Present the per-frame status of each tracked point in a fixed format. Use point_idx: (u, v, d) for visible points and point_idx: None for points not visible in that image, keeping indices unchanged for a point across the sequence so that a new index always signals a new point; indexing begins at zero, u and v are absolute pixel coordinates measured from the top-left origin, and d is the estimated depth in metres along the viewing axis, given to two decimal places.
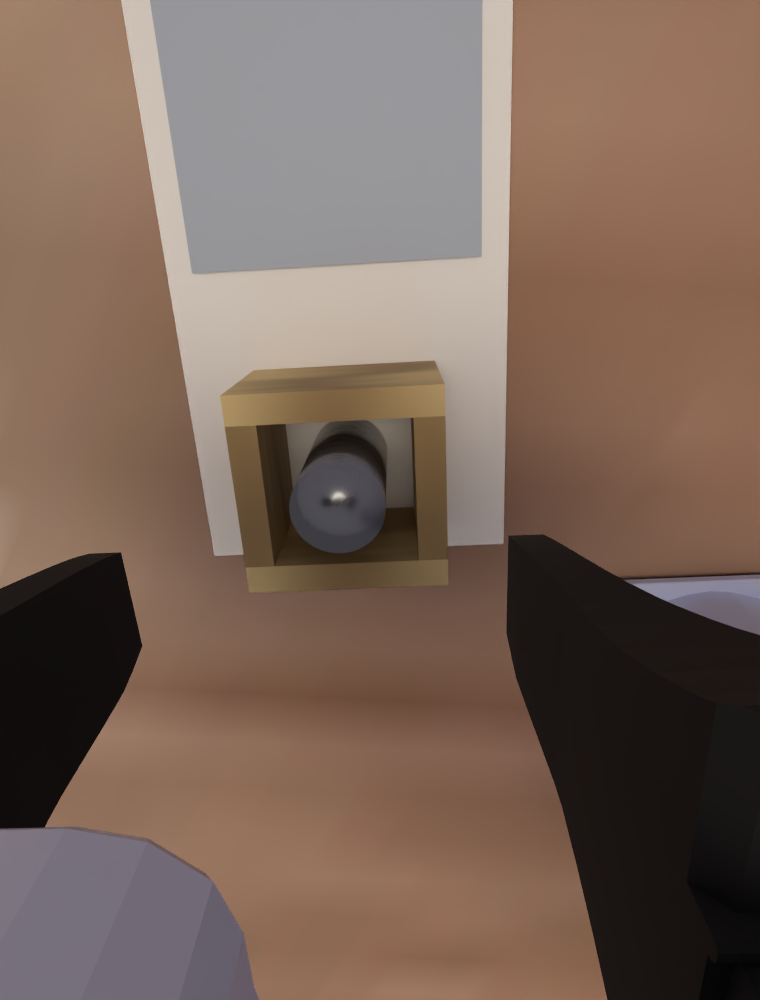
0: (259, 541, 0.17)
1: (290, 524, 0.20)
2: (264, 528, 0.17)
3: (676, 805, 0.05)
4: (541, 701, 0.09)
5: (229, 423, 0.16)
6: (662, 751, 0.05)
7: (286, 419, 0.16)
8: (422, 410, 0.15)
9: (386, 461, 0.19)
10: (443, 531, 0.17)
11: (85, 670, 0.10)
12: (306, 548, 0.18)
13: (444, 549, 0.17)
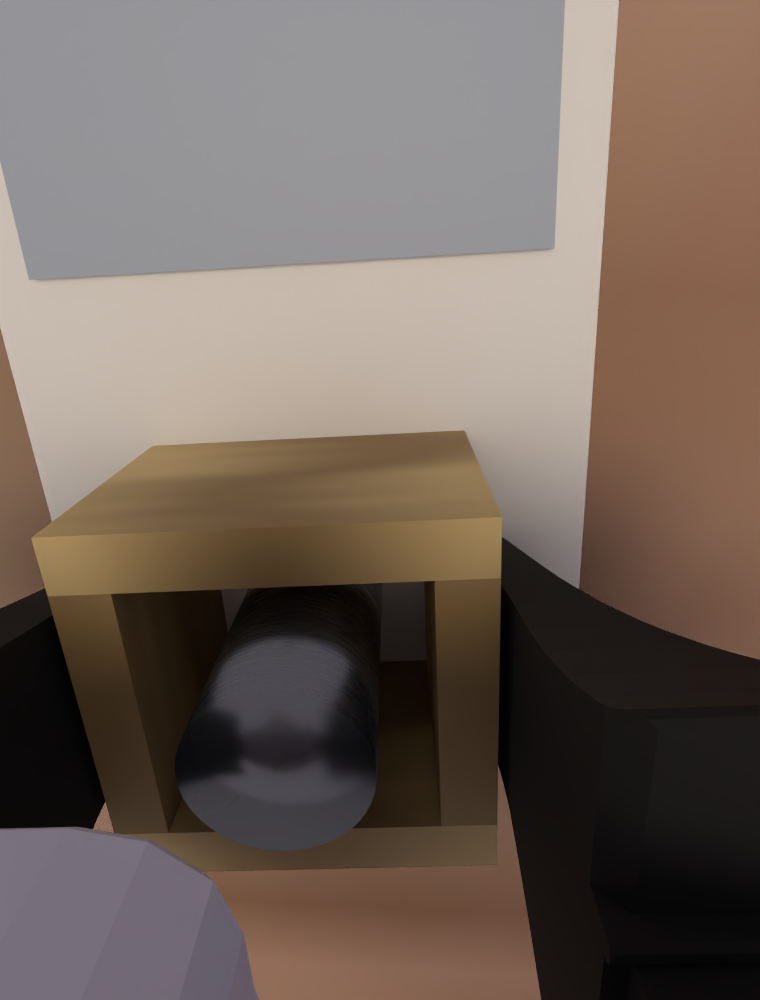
0: (136, 793, 0.09)
1: None
2: (145, 773, 0.09)
3: (582, 807, 0.05)
4: None
5: (56, 590, 0.08)
6: (572, 753, 0.05)
7: (172, 583, 0.08)
8: (453, 567, 0.07)
9: (380, 609, 0.11)
10: (489, 779, 0.09)
11: None
12: None
13: (490, 808, 0.09)
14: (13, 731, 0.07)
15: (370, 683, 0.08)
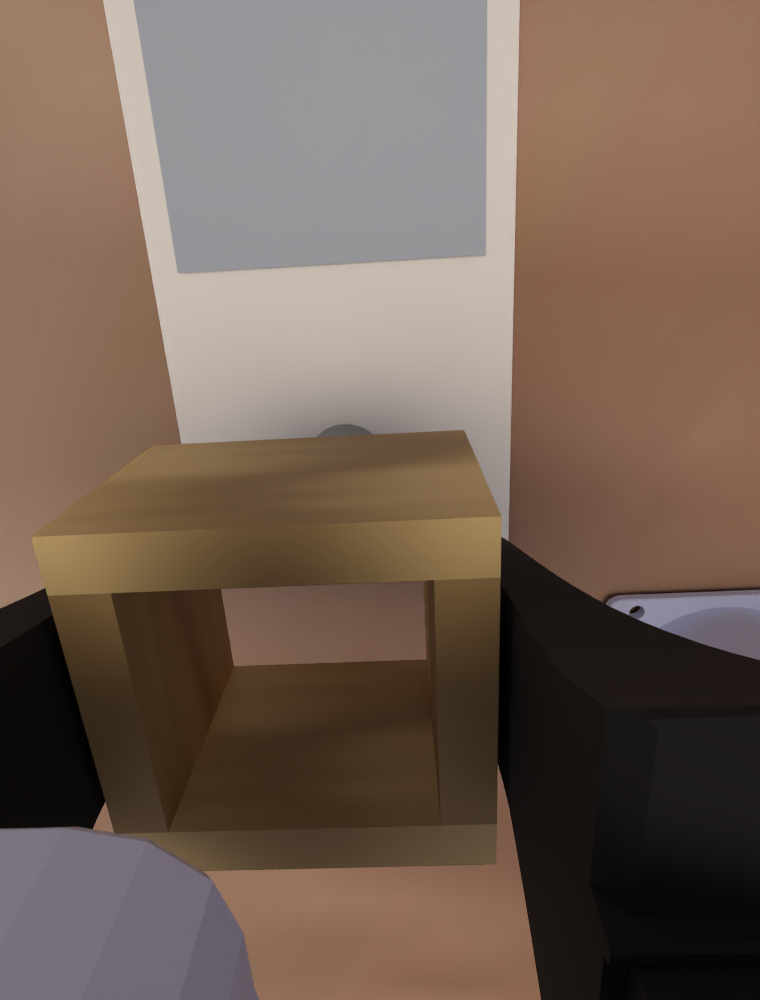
0: (136, 793, 0.09)
1: (219, 700, 0.12)
2: (145, 772, 0.09)
3: (581, 807, 0.05)
4: None
5: (56, 589, 0.08)
6: (572, 754, 0.05)
7: (172, 582, 0.08)
8: (453, 567, 0.07)
9: None
10: (489, 778, 0.09)
11: None
12: (236, 773, 0.10)
13: (490, 808, 0.09)
14: (13, 731, 0.07)
15: None
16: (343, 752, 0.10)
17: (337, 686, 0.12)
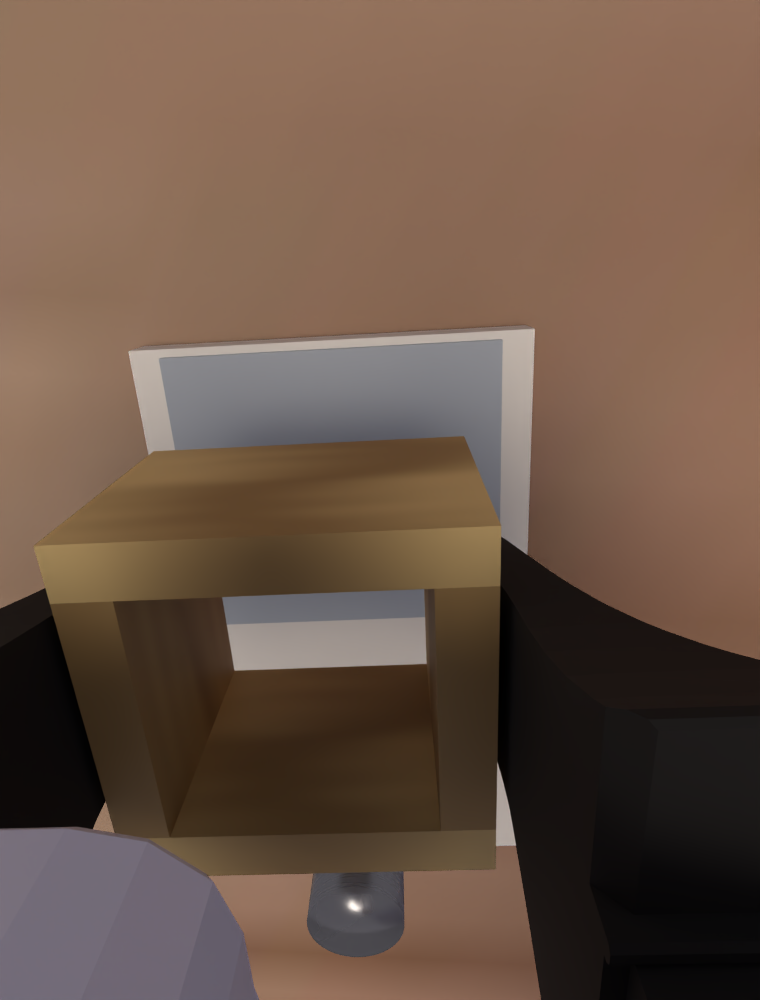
0: (138, 798, 0.09)
1: (220, 705, 0.12)
2: (147, 778, 0.09)
3: (581, 807, 0.05)
4: None
5: (58, 597, 0.08)
6: (572, 754, 0.05)
7: (174, 591, 0.08)
8: (453, 575, 0.07)
9: None
10: (489, 784, 0.09)
11: None
12: (237, 778, 0.10)
13: (490, 813, 0.09)
14: (13, 731, 0.07)
15: None
16: (344, 756, 0.10)
17: (337, 690, 0.12)
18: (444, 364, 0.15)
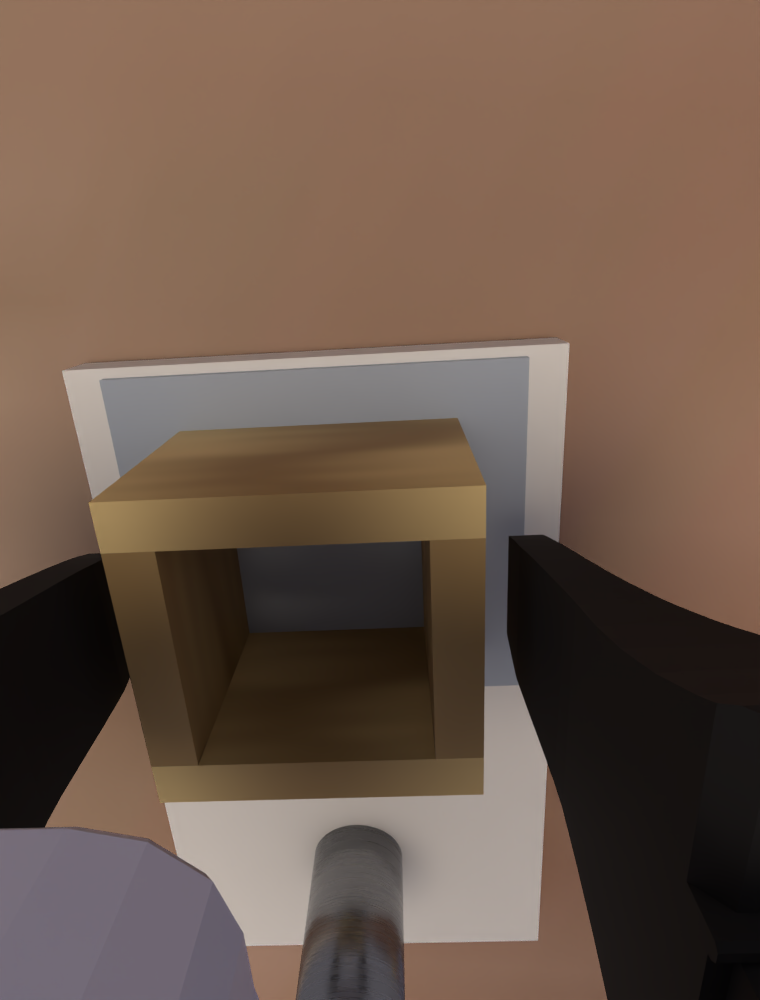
0: (171, 729, 0.10)
1: (238, 661, 0.13)
2: (180, 710, 0.10)
3: (676, 804, 0.05)
4: (541, 700, 0.09)
5: (108, 548, 0.09)
6: (662, 751, 0.05)
7: (207, 542, 0.09)
8: (445, 529, 0.09)
9: (402, 904, 0.15)
10: (477, 716, 0.10)
11: (85, 670, 0.10)
12: (256, 719, 0.11)
13: (478, 743, 0.10)
14: None
15: None
16: (350, 702, 0.12)
17: (343, 649, 0.13)
18: (455, 387, 0.12)
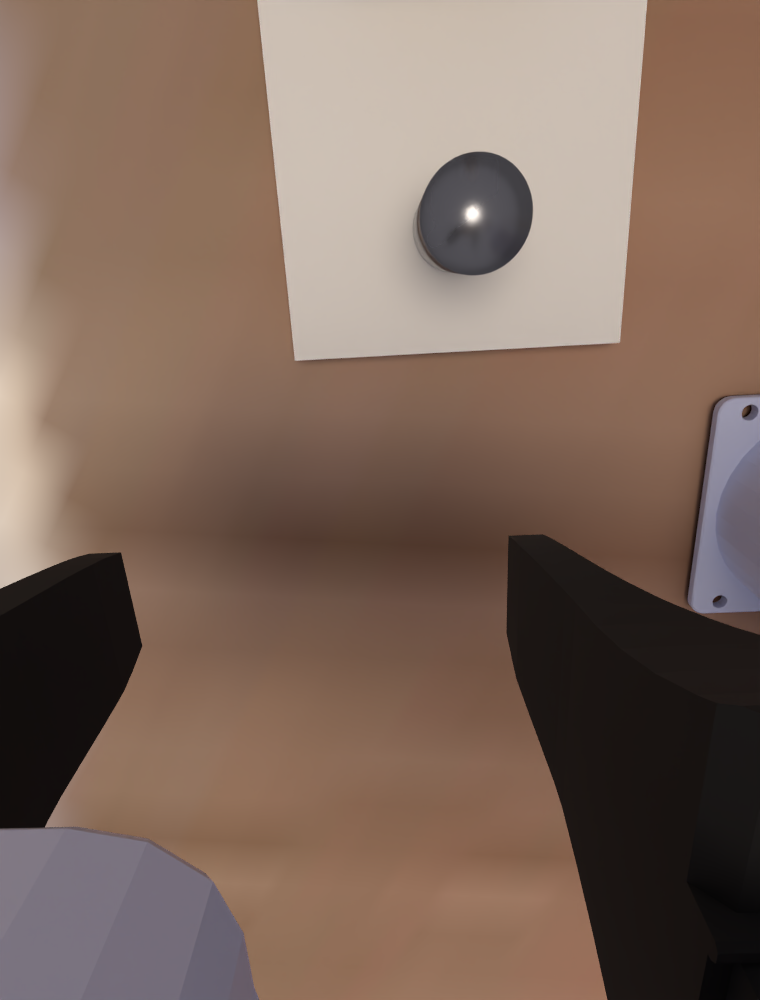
0: None
1: None
2: None
3: (676, 805, 0.05)
4: (541, 701, 0.09)
5: None
6: (662, 751, 0.05)
7: None
8: None
9: None
10: None
11: (85, 670, 0.10)
12: None
13: None
14: None
15: None
16: None
17: None
18: None
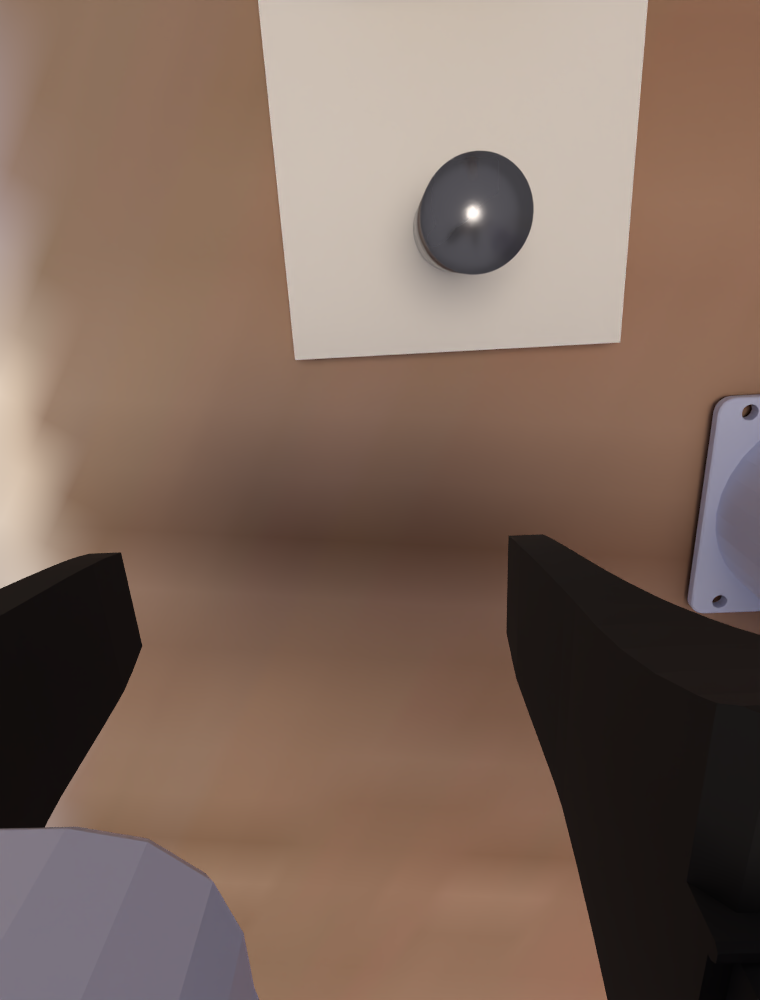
0: None
1: None
2: None
3: (676, 805, 0.05)
4: (541, 700, 0.09)
5: None
6: (662, 751, 0.05)
7: None
8: None
9: None
10: None
11: (85, 670, 0.10)
12: None
13: None
14: None
15: None
16: None
17: None
18: None
